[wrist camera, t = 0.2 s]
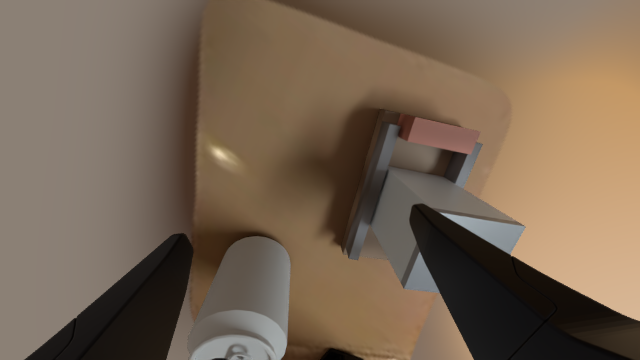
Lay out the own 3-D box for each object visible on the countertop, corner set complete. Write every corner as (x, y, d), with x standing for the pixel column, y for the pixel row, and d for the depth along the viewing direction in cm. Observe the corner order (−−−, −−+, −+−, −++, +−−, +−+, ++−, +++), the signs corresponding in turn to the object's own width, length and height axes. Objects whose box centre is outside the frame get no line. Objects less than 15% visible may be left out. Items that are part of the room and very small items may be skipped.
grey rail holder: (410, 255, 30) (429, 282, 26) (341, 246, 29) (348, 273, 24) (462, 127, 25) (496, 135, 21) (380, 108, 23) (398, 113, 19)
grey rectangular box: (422, 227, 26) (485, 297, 18) (366, 218, 26) (404, 288, 17) (442, 176, 25) (525, 226, 16) (383, 165, 24) (436, 211, 15)
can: (212, 265, 28) (155, 381, 17) (249, 219, 26) (214, 315, 15) (266, 293, 30) (247, 413, 19) (303, 253, 29) (306, 358, 17)
